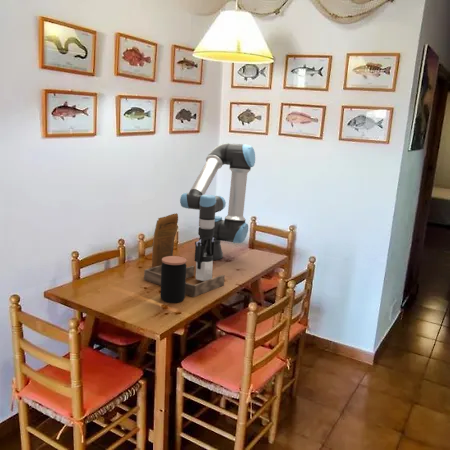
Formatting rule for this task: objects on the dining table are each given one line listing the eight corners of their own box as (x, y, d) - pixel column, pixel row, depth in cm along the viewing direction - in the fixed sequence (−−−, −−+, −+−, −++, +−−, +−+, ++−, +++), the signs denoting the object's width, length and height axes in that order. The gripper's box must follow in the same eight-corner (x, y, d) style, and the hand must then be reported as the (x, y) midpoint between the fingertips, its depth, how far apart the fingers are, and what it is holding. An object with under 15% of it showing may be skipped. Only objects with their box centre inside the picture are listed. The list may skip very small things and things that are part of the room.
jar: (200, 281, 221) (201, 257, 219) (191, 277, 228) (192, 253, 225) (215, 279, 226) (217, 255, 224) (206, 274, 233) (207, 251, 231)
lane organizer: (175, 270, 242) (176, 260, 241) (224, 285, 224) (224, 275, 223) (143, 279, 224) (144, 269, 223) (193, 297, 206) (194, 286, 205)
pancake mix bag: (180, 264, 253) (182, 213, 247) (155, 271, 238) (157, 218, 232) (171, 261, 257) (173, 211, 251) (146, 268, 242) (147, 215, 236)
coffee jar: (189, 299, 203) (191, 260, 199) (171, 305, 195) (173, 264, 191) (173, 292, 210) (175, 254, 206) (155, 298, 202) (156, 258, 198)
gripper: (212, 223, 231) (209, 267, 236) (187, 228, 217) (185, 275, 222) (224, 226, 227) (221, 271, 232) (200, 231, 212) (197, 279, 217)
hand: (204, 273), depth 227 cm, fingers closed on jar, 5 cm apart
